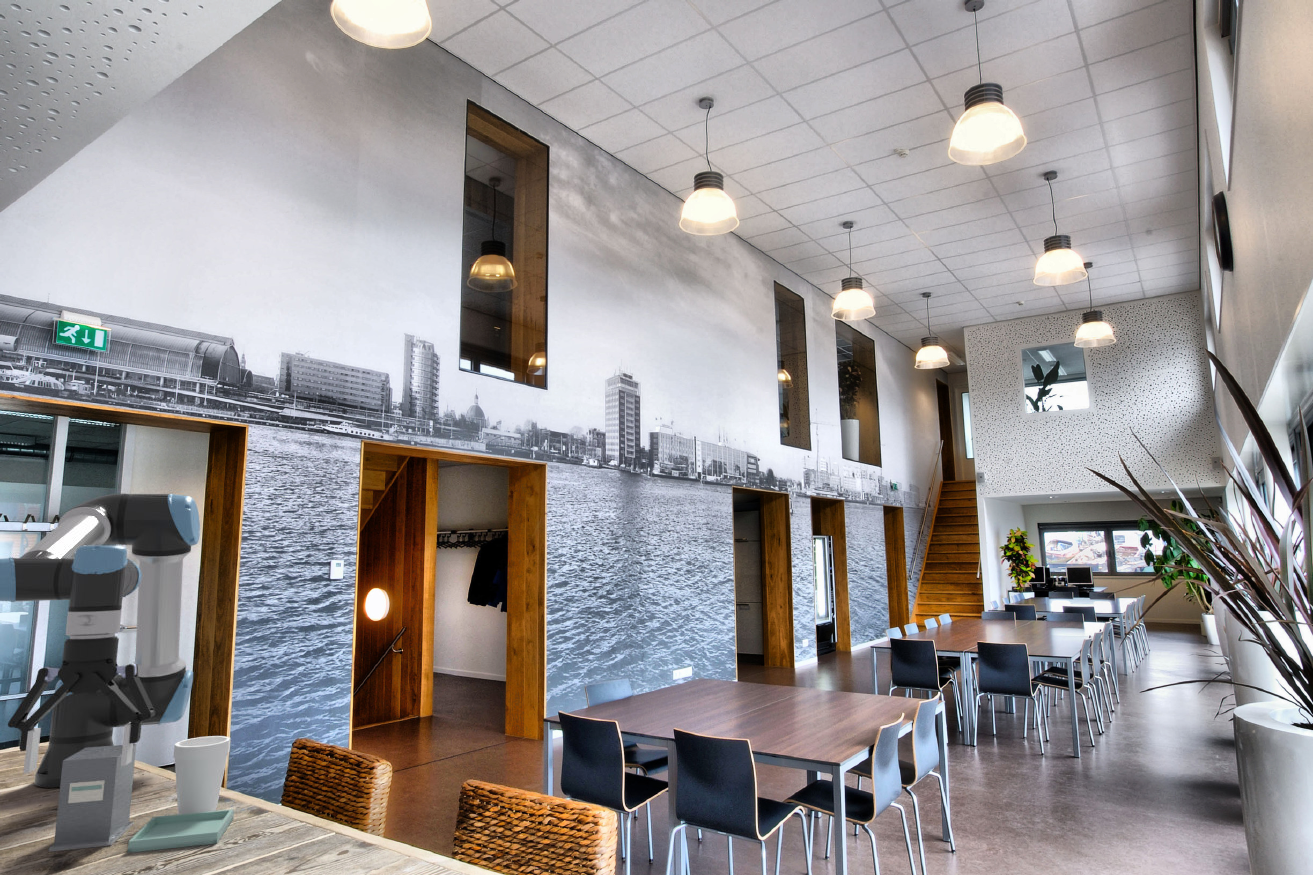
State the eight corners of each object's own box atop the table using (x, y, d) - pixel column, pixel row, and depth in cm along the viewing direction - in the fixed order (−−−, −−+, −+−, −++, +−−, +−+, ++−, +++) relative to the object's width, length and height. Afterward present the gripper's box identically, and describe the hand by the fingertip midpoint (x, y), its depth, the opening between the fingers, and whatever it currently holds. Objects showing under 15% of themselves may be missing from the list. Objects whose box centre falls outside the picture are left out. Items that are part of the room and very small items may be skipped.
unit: (75, 830, 139) (83, 747, 141) (132, 824, 142) (140, 743, 144) (48, 851, 129) (58, 761, 131) (111, 845, 131) (119, 756, 134)
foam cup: (157, 816, 146) (163, 744, 148) (200, 802, 155) (206, 734, 157) (193, 821, 143) (199, 748, 145) (236, 806, 152) (241, 737, 154)
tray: (152, 827, 140) (153, 816, 140) (233, 819, 144) (233, 808, 144) (127, 852, 128) (128, 841, 128) (216, 843, 132) (217, 831, 132)
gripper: (-8, 641, 124) (-25, 780, 121) (169, 635, 132) (157, 765, 128) (15, 637, 131) (-1, 768, 128) (181, 631, 139) (170, 755, 135)
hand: (78, 767), depth 128 cm, fingers open, 13 cm apart
